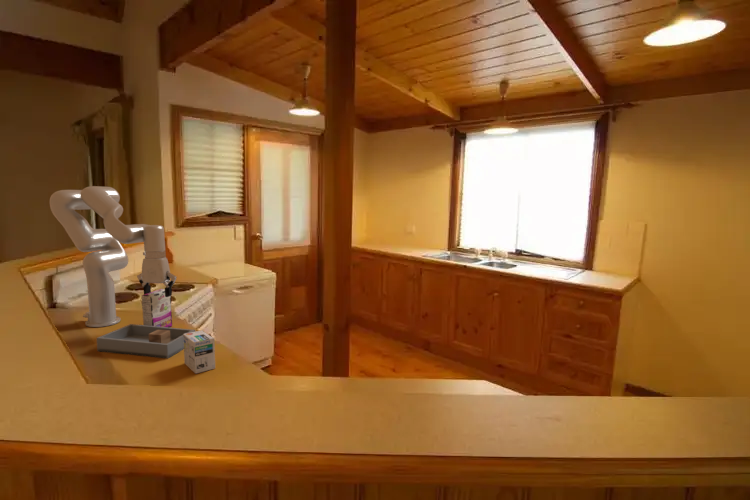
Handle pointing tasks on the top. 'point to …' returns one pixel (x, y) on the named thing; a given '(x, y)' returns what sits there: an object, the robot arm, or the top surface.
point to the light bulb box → (199, 351)
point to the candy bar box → (157, 309)
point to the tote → (141, 341)
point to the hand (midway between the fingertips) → (158, 295)
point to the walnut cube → (160, 336)
